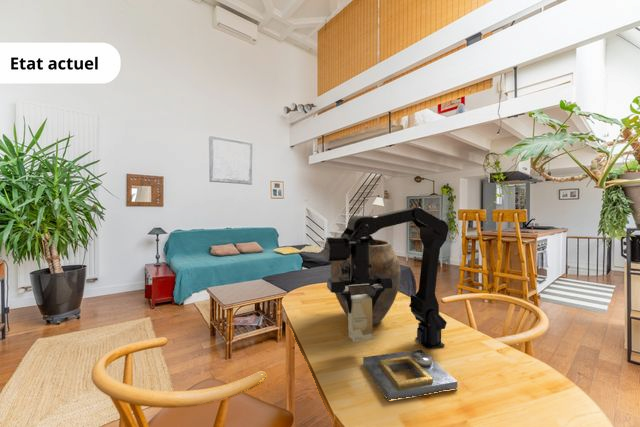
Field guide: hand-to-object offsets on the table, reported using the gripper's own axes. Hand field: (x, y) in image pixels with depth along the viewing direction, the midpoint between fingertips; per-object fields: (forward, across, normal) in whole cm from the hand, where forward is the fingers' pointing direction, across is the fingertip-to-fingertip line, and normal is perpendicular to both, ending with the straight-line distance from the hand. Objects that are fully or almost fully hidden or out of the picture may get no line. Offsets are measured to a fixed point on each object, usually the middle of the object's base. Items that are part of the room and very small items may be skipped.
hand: (360, 311), depth 82 cm
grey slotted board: (+13, -8, +12) cm, 20 cm away
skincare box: (+8, 0, 0) cm, 8 cm away
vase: (+13, -10, -23) cm, 29 cm away
